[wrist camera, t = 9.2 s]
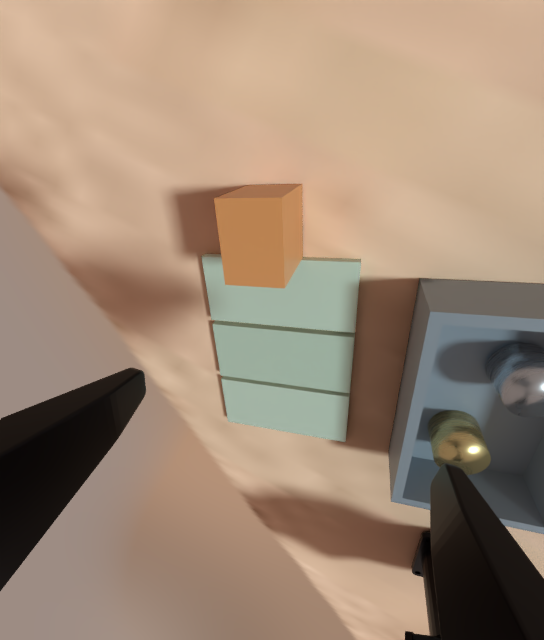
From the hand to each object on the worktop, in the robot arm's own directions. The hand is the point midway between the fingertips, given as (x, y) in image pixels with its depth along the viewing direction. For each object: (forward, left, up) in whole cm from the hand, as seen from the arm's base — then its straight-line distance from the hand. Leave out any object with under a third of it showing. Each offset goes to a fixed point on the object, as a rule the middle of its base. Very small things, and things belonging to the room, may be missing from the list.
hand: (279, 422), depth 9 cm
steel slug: (-4, -11, -11) cm, 16 cm away
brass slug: (-10, -9, -11) cm, 17 cm away
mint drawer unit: (-4, +3, -12) cm, 13 cm away
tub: (-7, -10, -12) cm, 16 cm away
